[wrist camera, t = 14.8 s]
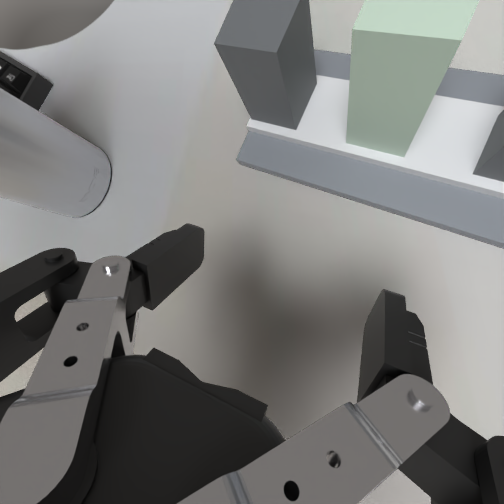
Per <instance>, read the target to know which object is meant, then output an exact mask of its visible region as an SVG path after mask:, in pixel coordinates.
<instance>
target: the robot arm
mask: <svg viewBox="0 0 504 504" xmlns="http://www.w3.org/2000/svg"><path fill="white" fill-rule="evenodd" d="M110 177H111V168H110V163H109V160H108V158H107V156H106V154H105V153H104V152H103V151H102V150H101V149H100V148H98V147H97V146H95V145H93V144H92V143H90V142H88V141H87V140H85V139H83V138H82V137H80V136H78V135H77V134H75V133H73V132H72V131H70V130H69V129H67V128H65V127H64V126H62V125H61V124H59V123H57V122H56V121H54V120H52V119H51V118H49V117H47V116H46V115H44V114H42V113H41V112H39V111H37V110H36V109H34V108H32V107H31V106H29V105H27V104H26V103H24V102H22V101H21V100H19V99H18V98H16V97H14V96H13V95H11V94H9V93H8V92H6V91H4V90H3V89H1V88H0V197H1V198H5V199H8V200H12V201H15V202H19V203H22V204H26V205H29V206H33V207H36V208H40V209H43V210H47V211H50V212H54V213H57V214H61V215H65V216H68V217H73V218H74V217H81V216H84V215H86V214H88V213H90V212H91V211H93V210H94V209H95V208H96V207H97V206H98V205H99V203H100V202H101V201H102V199H103V198H104V196H105V194H106V192H107V189H108V186H109V183H110ZM203 258H204V230H203V228H201V227H198V226H195V225H192V224H185V225H184V226H182V227H181V228H179V229H177V230H173V231H170V232H166V233H164V234H162V235H160V236H159V237H157V238H156V239H154V240H152V241H151V242H150V243H149V244H146V245H144V246H143V247H141V248H140V249H138V250H136V251H135V252H133V253H132V254H130V255H128V256H127V257H122V256H108V257H104V258H101V259H99V260H97V261H95V262H94V263H87V262H79V261H77V258H76V255H75V252H74V251H73V250H71V249H67V248H55V249H50V250H46V251H43V252H41V253H39V254H37V255H35V256H33V257H31V258H29V259H27V260H25V261H23V262H21V263H19V264H17V265H15V266H13V267H11V268H9V269H7V270H5V271H3V272H1V273H0V382H1V381H2V380H3V379H5V378H6V377H7V376H8V375H10V374H11V373H12V372H14V371H15V370H16V369H17V368H19V367H20V366H21V365H22V364H24V363H25V362H26V361H27V360H29V359H30V358H31V357H32V356H34V355H35V354H36V353H37V352H39V351H40V350H41V349H42V348H44V349H43V352H42V354H41V356H40V358H39V360H38V363H37V365H36V367H35V369H34V371H33V374H32V376H31V378H30V380H29V382H28V384H27V387H26V388H25V389H22V390H20V391H17V392H14V393H11V394H8V395H5V396H2V397H0V504H359V503H360V502H361V501H362V500H363V499H365V498H366V497H367V496H368V495H369V494H370V493H371V492H372V491H373V490H374V489H376V488H377V487H378V486H379V485H380V484H381V483H382V482H383V481H384V480H386V479H387V478H388V477H389V476H390V475H391V474H392V473H393V472H394V471H395V470H397V469H399V470H400V471H401V472H403V473H404V474H405V475H406V476H407V477H408V478H409V479H411V480H412V481H413V482H414V483H415V484H416V485H417V486H419V487H420V488H421V489H422V490H423V491H424V492H425V493H427V494H428V495H429V496H430V497H431V504H504V436H494V437H492V438H490V439H489V440H486V439H485V438H483V437H482V436H480V435H479V434H478V433H476V432H475V431H473V430H472V429H470V428H469V427H467V426H466V425H465V424H463V423H462V422H460V421H459V420H458V419H456V418H455V417H454V416H453V415H452V414H451V413H450V410H449V406H448V404H447V402H446V400H445V398H444V397H443V395H442V394H441V393H440V392H439V391H438V390H437V389H436V388H435V387H434V386H433V382H432V376H431V370H430V364H429V358H428V351H427V349H426V347H427V345H426V339H425V333H424V326H423V324H422V323H421V321H420V320H419V318H418V317H417V315H416V314H415V313H412V312H409V311H406V302H405V296H403V295H400V294H397V293H394V292H391V291H388V290H385V289H383V290H382V291H381V293H380V295H379V297H378V299H377V301H376V303H375V305H374V307H373V309H372V310H371V312H370V314H369V316H368V319H367V321H366V324H365V328H364V335H363V345H362V356H361V366H360V377H359V387H358V398H357V403H356V404H354V405H353V404H352V403H351V402H348V403H346V404H344V405H342V406H340V407H339V408H337V409H335V410H334V411H332V412H331V413H329V414H327V415H326V416H324V417H323V418H321V419H320V420H318V421H316V422H315V423H313V424H312V425H310V426H308V427H307V428H305V429H304V430H302V431H300V432H299V433H297V434H296V435H294V436H293V437H291V438H289V439H288V440H286V441H285V440H284V438H283V436H282V435H281V433H280V432H279V430H278V429H277V428H276V427H275V425H274V424H273V423H272V422H271V421H270V420H269V419H268V418H267V417H266V416H265V413H266V410H267V407H268V405H266V404H264V403H262V402H260V401H258V400H256V399H254V398H252V397H250V396H248V395H246V394H244V393H242V392H241V391H239V390H236V389H231V388H227V387H222V386H218V385H213V384H208V383H204V382H202V381H200V380H199V379H198V378H197V377H196V376H195V375H194V374H193V373H192V372H191V371H190V370H189V369H188V368H187V367H185V366H184V365H183V364H182V363H181V362H180V361H179V360H177V359H175V358H173V357H171V356H169V355H167V354H165V353H163V352H161V351H159V350H157V349H156V348H153V349H152V350H151V351H150V352H149V353H148V354H147V356H145V355H134V345H135V337H136V330H137V323H138V316H139V312H138V309H140V308H141V307H142V306H144V307H146V308H148V309H150V310H154V309H155V308H156V307H157V306H158V305H159V304H160V303H161V302H162V301H163V300H164V299H165V298H167V297H168V296H169V295H170V294H171V293H172V292H173V291H174V290H175V289H176V288H177V287H178V286H180V285H181V284H182V283H183V282H184V281H185V280H186V279H187V278H188V277H189V276H190V275H191V274H193V273H194V272H195V271H196V270H197V269H198V268H199V267H200V265H201V264H202V261H203ZM42 292H44V293H45V295H46V298H47V300H48V302H47V303H45V304H44V305H42V306H41V307H39V308H38V309H36V310H35V311H33V312H31V313H30V314H28V315H27V316H25V317H24V318H22V319H21V320H19V321H18V322H16V320H15V318H14V316H15V312H16V311H17V309H18V308H19V307H20V306H21V305H23V304H24V303H26V302H27V301H29V300H31V299H32V298H34V297H36V296H37V295H39V294H40V293H42Z"/></svg>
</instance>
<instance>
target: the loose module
mask: <svg viewBox="0 0 504 504" xmlns="http://www.w3.org/2000/svg"><path fill="white" fill-rule="evenodd" d="M478 2H479V0H365V2H364V4H363V6H362V9H361V11H360V13H359V15H358V18H357V20H356V22H355V24H354V27H353V29H352V45H351V62H350V80H349V98H348V116H347V133H346V143H348V144H352V145H356V146H360V147H364V148H368V149H372V150H376V151H380V152H384V153H388V154H392V155H396V156H400V157H404V156H405V154H406V152H407V150H408V148H409V146H410V144H411V142H412V140H413V138H414V136H415V134H416V132H417V130H418V128H419V126H420V124H421V122H422V120H423V118H424V116H425V114H426V112H427V110H428V108H429V106H430V104H431V102H432V100H433V98H434V96H435V94H436V91H437V89H438V87H439V85H440V83H441V81H442V79H443V77H444V75H445V73H446V71H447V69H448V67H449V65H450V63H451V61H452V59H453V57H454V55H455V53H456V51H457V49H458V47H459V45H460V43H461V41H462V39H463V36H464V34H465V32H466V29H467V27H468V25H469V23H470V20H471V18H472V16H473V13H474V11H475V9H476V7H477V4H478Z"/></svg>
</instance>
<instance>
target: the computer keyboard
mask: <svg viewBox="0 0 504 504" xmlns="http://www.w3.org/2000/svg"><path fill="white" fill-rule="evenodd" d="M52 86H53V84H51V83H50V82H49V81H47V80H46V79H45V78H43V77H42V76H40V75H39V74H38V73H36V72H34V71H33V70H31V69H29V68H27V67H26V66H24V65H22V64H21V63H19V62H17V61H15V60H14V59H12V58H10V57H9V56H7V55H5V54H3V53H2V52H0V88H1V89H3V90H4V91H6V92H8V93H9V94H11V95H13V96H14V97H16V98H18V99H19V100H21V101H22V102H24V103H26V104H27V105H29V106H31V107H32V108H34V109H36V110H37V111H38V110H39V109H40V107H41V105H42V104H43V102H44V100H45V98H46V97H47V95H48V93H49V92H50V90H51V88H52Z"/></svg>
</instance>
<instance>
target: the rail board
mask: <svg viewBox="0 0 504 504" xmlns="http://www.w3.org/2000/svg"><path fill="white" fill-rule="evenodd" d="M214 44H215V46H216V48H217V50H218V52H219V54H220V56H221V58H222V60H223V62H224V64H225V66H226V68H227V70H228V72H229V74H230V77H231V79H232V81H233V83H234V85H235V87H236V89H237V91H238V93H239V95H240V97H241V99H242V101H243V103H244V105H245V107H246V109H247V111H248V113H249V115H250V118H249V121H248V123H247V125H246V127H247V129H248V130H249V132H248V134H247V136H246V138H245V140H244V143H243V145H242V147H241V149H240V152H239V154H238V156H237V158H236V160H237V161H238V163H239V164H241V165H244V166H247V167H250V168H253V169H257V170H260V171H263V172H266V173H269V174H272V175H275V176H278V177H282V178H285V179H288V180H291V181H294V182H297V183H300V184H303V185H307V186H310V187H313V188H316V189H319V190H322V191H325V192H329V193H332V194H335V195H338V196H341V197H344V198H347V199H350V200H354V201H357V202H360V203H363V204H366V205H369V206H372V207H375V208H379V209H382V210H385V211H388V212H391V213H394V214H397V215H400V216H404V217H407V218H410V219H413V220H416V221H419V222H422V223H426V224H429V225H432V226H435V227H438V228H441V229H444V230H447V231H451V232H454V233H457V234H460V235H463V236H466V237H469V238H472V239H476V240H479V241H482V242H485V243H488V244H491V245H494V246H497V247H501V248H504V75H499V74H492V73H484V72H477V71H470V70H462V69H455V68H448V69H447V71H446V73H445V75H444V77H443V79H442V81H441V83H440V85H439V87H438V89H437V91H436V94H435V96H434V98H433V100H432V102H431V104H430V106H429V108H428V110H427V112H426V114H425V116H424V118H423V120H422V122H421V124H420V126H419V128H418V130H417V132H416V134H415V136H414V138H413V140H412V142H411V144H410V146H409V148H408V150H407V152H406V154H405V156H404V157H400V156H396V155H392V154H388V153H384V152H380V151H376V150H372V149H368V148H364V147H360V146H356V145H352V144H348V143H346V133H347V116H348V98H349V80H350V62H351V54H344V53H337V52H329V51H322V50H315V49H314V47H313V37H312V27H311V16H310V6H309V0H233V3H232V5H231V7H230V9H229V11H228V14H227V16H226V18H225V20H224V23H223V25H222V27H221V29H220V32H219V34H218V36H217V38H216V40H215V43H214Z"/></svg>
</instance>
